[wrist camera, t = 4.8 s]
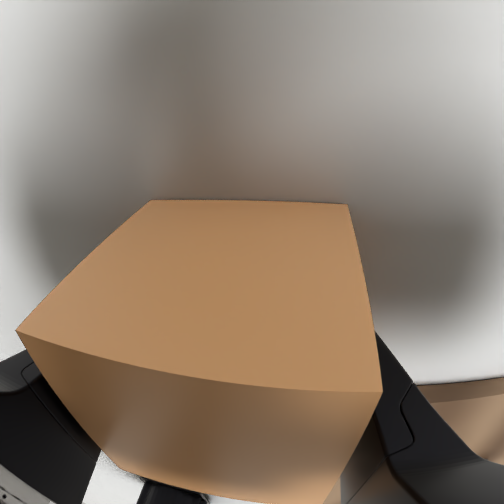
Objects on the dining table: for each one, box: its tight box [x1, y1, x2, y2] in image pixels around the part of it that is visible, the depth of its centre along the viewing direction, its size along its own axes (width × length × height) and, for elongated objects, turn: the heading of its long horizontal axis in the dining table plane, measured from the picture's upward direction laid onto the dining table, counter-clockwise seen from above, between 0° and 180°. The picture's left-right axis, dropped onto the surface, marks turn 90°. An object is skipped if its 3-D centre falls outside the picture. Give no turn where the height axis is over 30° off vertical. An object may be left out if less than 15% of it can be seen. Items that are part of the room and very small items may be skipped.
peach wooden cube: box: [16, 200, 383, 504], centre depth 8 cm, size 6×6×6 cm
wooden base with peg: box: [323, 377, 504, 504], centre depth 12 cm, size 20×20×8 cm
